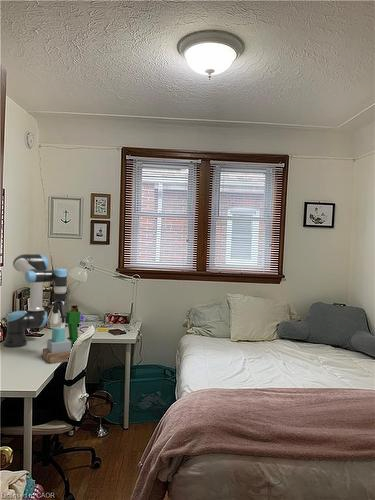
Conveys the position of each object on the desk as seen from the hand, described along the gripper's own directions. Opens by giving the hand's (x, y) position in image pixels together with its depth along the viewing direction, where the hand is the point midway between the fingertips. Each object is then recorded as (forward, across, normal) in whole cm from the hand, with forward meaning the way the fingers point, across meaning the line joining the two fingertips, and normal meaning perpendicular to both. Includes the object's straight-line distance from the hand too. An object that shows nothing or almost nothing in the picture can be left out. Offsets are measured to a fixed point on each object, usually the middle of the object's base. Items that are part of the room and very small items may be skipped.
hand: (58, 325), depth 249 cm
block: (+10, 0, 0) cm, 10 cm away
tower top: (+16, 0, +1) cm, 16 cm away
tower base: (+22, +1, +1) cm, 22 cm away
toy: (+22, -19, +18) cm, 34 cm away
